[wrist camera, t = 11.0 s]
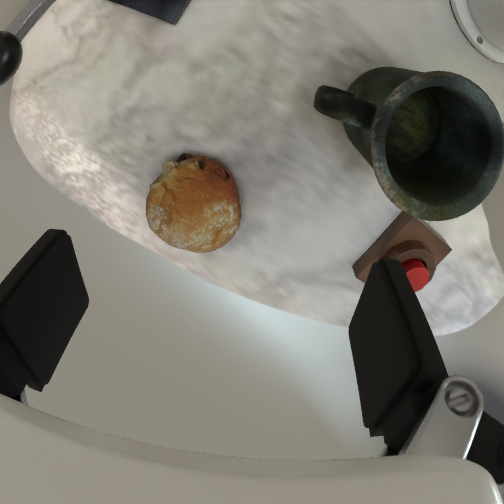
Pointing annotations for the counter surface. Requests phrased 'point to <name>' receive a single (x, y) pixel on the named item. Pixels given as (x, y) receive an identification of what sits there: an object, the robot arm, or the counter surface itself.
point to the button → (416, 273)
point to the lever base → (158, 8)
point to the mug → (422, 137)
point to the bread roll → (194, 204)
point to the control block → (405, 246)
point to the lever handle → (18, 37)
